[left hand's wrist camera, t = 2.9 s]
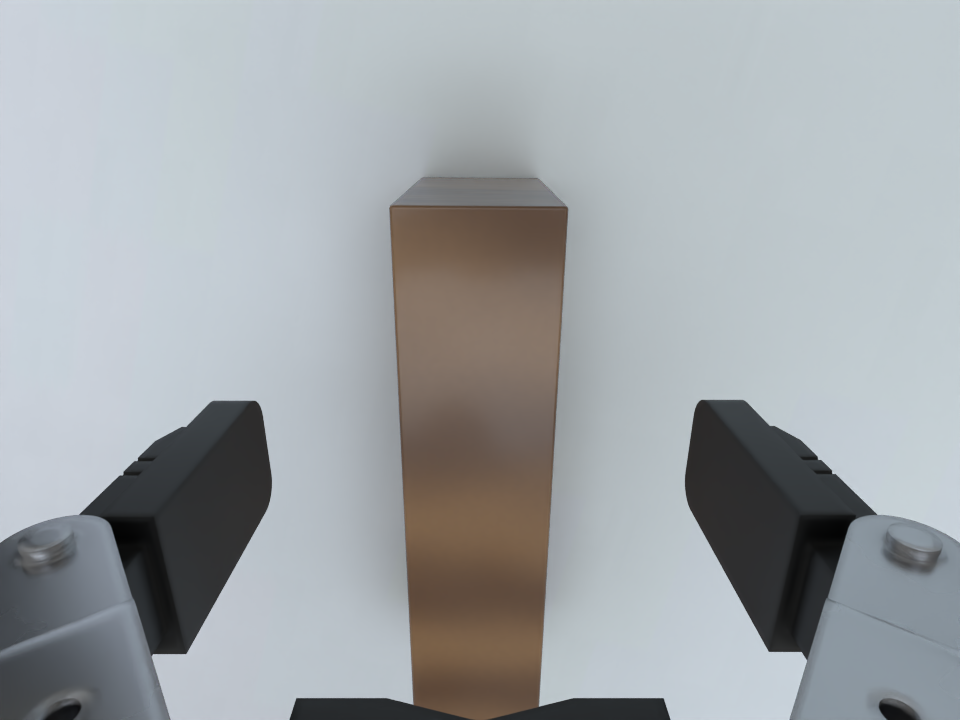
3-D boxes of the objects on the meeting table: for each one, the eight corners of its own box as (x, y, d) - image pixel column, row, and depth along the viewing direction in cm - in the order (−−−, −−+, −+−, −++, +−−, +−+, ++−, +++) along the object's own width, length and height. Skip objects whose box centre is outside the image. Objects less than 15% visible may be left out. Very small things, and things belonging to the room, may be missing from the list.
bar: (420, 177, 26) (388, 205, 17) (539, 178, 26) (568, 206, 17) (433, 614, 35) (416, 780, 26) (521, 615, 35) (534, 781, 26)
